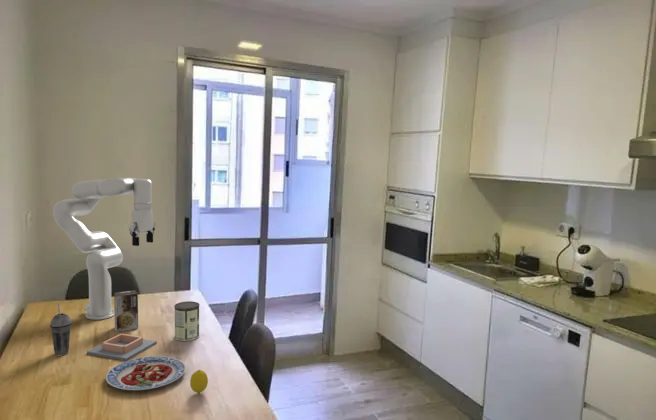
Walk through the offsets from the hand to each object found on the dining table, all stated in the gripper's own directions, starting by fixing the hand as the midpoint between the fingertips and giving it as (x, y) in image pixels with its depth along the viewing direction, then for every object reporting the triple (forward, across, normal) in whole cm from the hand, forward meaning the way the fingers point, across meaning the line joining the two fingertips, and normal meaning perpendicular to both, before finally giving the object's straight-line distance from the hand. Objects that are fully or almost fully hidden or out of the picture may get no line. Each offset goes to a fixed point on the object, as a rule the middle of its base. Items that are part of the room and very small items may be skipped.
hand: (142, 243), depth 211 cm
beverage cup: (+37, +40, -6) cm, 55 cm away
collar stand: (+37, +28, +12) cm, 48 cm away
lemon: (+37, +49, +59) cm, 85 cm away
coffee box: (+37, +9, -2) cm, 38 cm away
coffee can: (+37, +8, +28) cm, 47 cm away
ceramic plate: (+37, +45, +36) cm, 69 cm away
